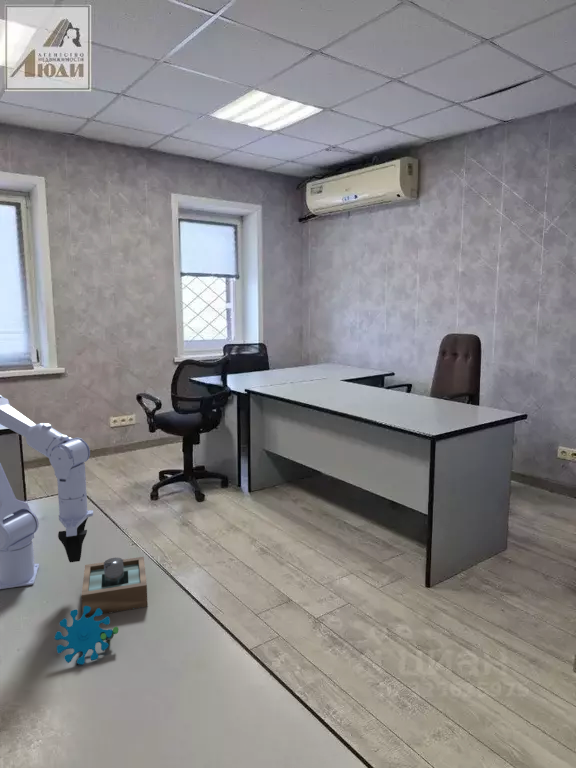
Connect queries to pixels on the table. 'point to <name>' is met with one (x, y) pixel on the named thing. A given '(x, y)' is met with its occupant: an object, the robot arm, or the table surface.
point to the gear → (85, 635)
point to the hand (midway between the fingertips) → (76, 552)
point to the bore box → (115, 588)
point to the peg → (113, 572)
